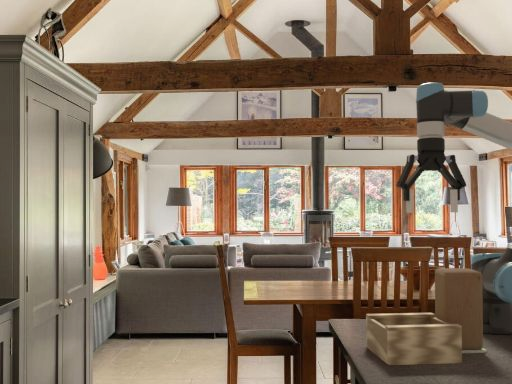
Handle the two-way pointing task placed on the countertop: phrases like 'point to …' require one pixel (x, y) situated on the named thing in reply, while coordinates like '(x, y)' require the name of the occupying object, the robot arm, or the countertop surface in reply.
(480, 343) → the wooden block
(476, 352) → the mat
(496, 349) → the countertop surface
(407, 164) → the robot arm
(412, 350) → the crate
